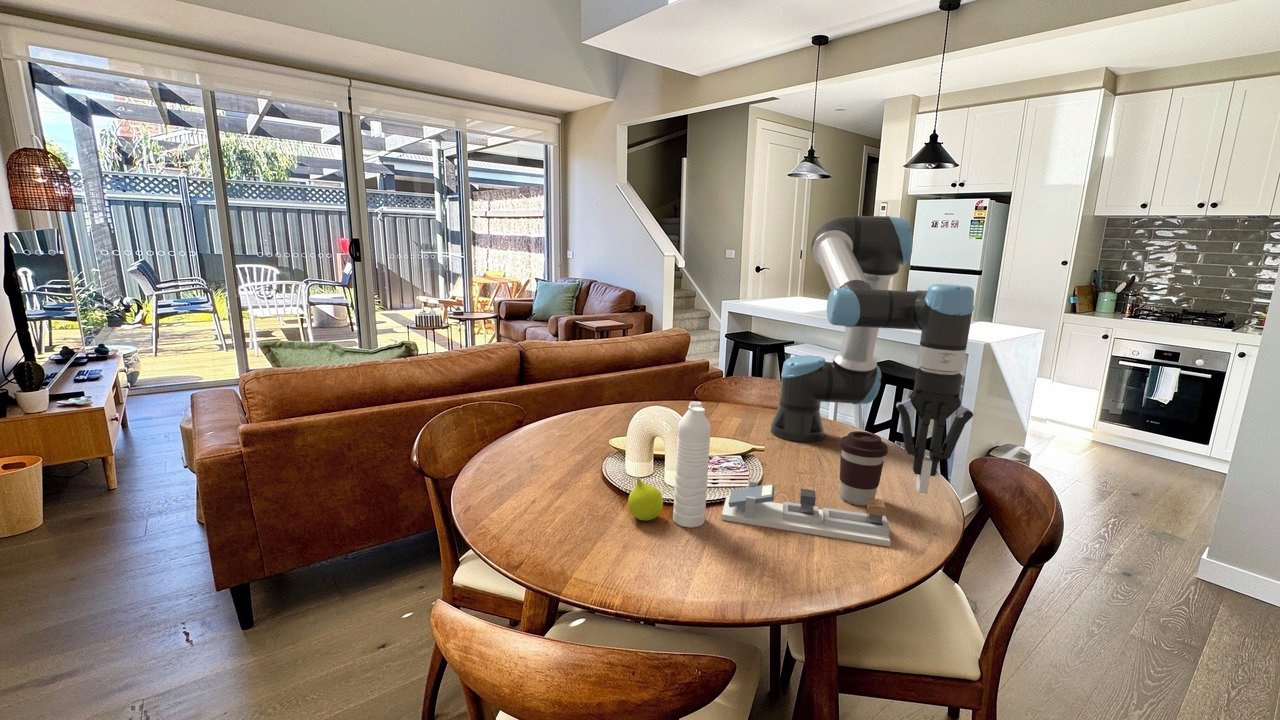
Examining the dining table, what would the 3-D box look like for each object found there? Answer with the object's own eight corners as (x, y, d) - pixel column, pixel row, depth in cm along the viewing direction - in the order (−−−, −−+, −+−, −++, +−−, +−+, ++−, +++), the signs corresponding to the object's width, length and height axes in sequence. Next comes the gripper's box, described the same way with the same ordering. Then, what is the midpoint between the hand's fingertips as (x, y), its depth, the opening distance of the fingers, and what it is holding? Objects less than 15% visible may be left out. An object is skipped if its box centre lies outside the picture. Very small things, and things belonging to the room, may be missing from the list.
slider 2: (864, 520, 113) (867, 497, 112) (879, 523, 113) (882, 500, 111) (866, 528, 110) (869, 505, 109) (882, 531, 109) (885, 507, 108)
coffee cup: (884, 512, 120) (894, 446, 117) (836, 506, 122) (844, 441, 119) (875, 492, 130) (883, 431, 127) (830, 487, 132) (837, 426, 129)
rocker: (733, 493, 121) (731, 488, 121) (774, 487, 119) (773, 482, 118) (729, 507, 115) (728, 502, 115) (773, 501, 112) (772, 496, 112)
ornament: (622, 512, 116) (624, 467, 114) (654, 508, 119) (656, 463, 117) (634, 529, 110) (636, 482, 108) (667, 524, 112) (670, 477, 110)
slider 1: (798, 510, 116) (801, 488, 115) (812, 512, 116) (815, 490, 115) (798, 518, 113) (801, 495, 112) (813, 520, 113) (815, 497, 111)
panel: (726, 500, 123) (728, 476, 122) (882, 524, 115) (886, 498, 114) (721, 519, 115) (723, 494, 114) (889, 546, 107) (893, 519, 106)
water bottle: (671, 512, 117) (677, 397, 112) (702, 512, 117) (709, 398, 112) (675, 533, 109) (681, 410, 103) (708, 534, 109) (716, 411, 103)
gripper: (904, 370, 101) (888, 493, 105) (985, 377, 97) (965, 503, 102) (897, 362, 108) (882, 478, 112) (972, 369, 104) (953, 487, 109)
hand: (921, 490), depth 107 cm, fingers closed
